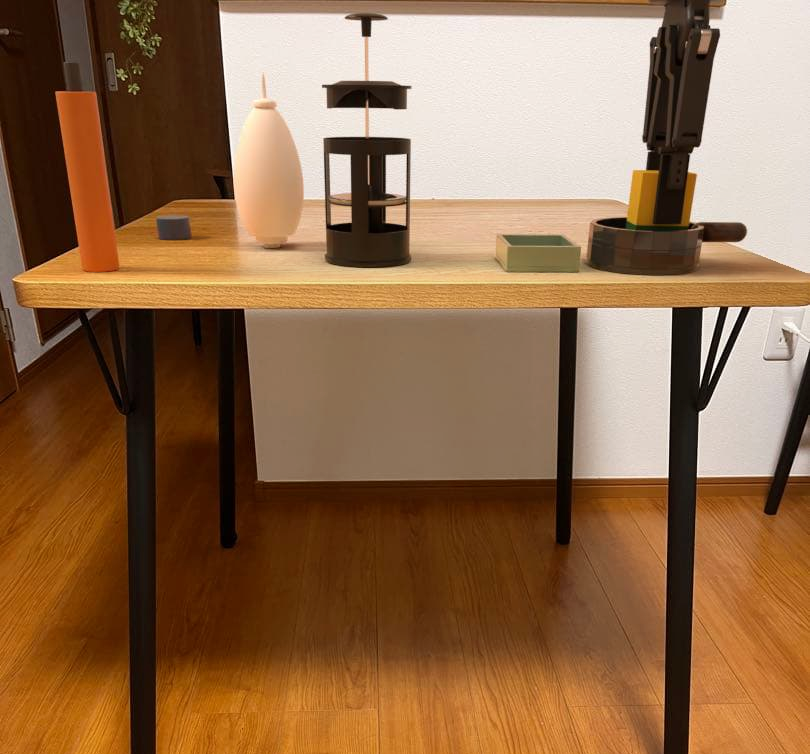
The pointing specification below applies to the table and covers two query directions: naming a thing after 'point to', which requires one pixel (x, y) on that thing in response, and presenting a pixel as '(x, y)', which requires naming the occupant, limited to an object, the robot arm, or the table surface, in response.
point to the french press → (367, 174)
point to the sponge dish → (537, 253)
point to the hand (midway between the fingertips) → (660, 220)
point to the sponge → (645, 201)
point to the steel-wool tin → (173, 227)
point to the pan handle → (722, 231)
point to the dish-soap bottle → (87, 173)
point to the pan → (642, 248)
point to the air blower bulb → (268, 175)
